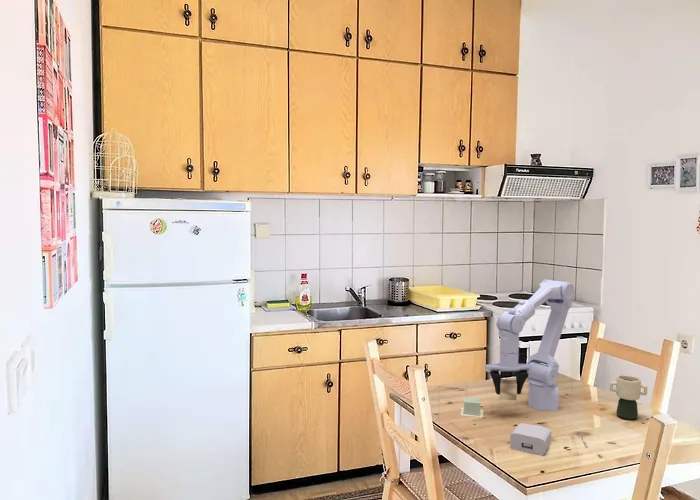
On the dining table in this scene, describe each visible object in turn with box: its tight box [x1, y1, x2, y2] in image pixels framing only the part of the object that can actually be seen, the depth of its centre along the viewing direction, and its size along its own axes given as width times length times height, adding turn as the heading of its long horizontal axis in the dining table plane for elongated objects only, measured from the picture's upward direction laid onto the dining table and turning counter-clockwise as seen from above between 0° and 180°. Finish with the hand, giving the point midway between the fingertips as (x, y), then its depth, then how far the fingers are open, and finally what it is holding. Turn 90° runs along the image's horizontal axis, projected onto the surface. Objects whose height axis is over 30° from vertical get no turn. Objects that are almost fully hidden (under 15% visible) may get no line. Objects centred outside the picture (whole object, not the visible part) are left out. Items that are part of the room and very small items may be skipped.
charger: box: [509, 422, 552, 456], centre depth 155 cm, size 5×9×15 cm
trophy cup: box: [609, 374, 648, 420], centre depth 176 cm, size 11×7×13 cm, turn 68°
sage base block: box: [463, 396, 481, 416], centre depth 176 cm, size 5×5×4 cm
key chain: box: [563, 433, 589, 450], centre depth 156 cm, size 13×7×1 cm, turn 162°
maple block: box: [499, 378, 518, 401], centre depth 173 cm, size 5×5×5 cm
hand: (508, 393), depth 173 cm, fingers closed on maple block, 6 cm apart
